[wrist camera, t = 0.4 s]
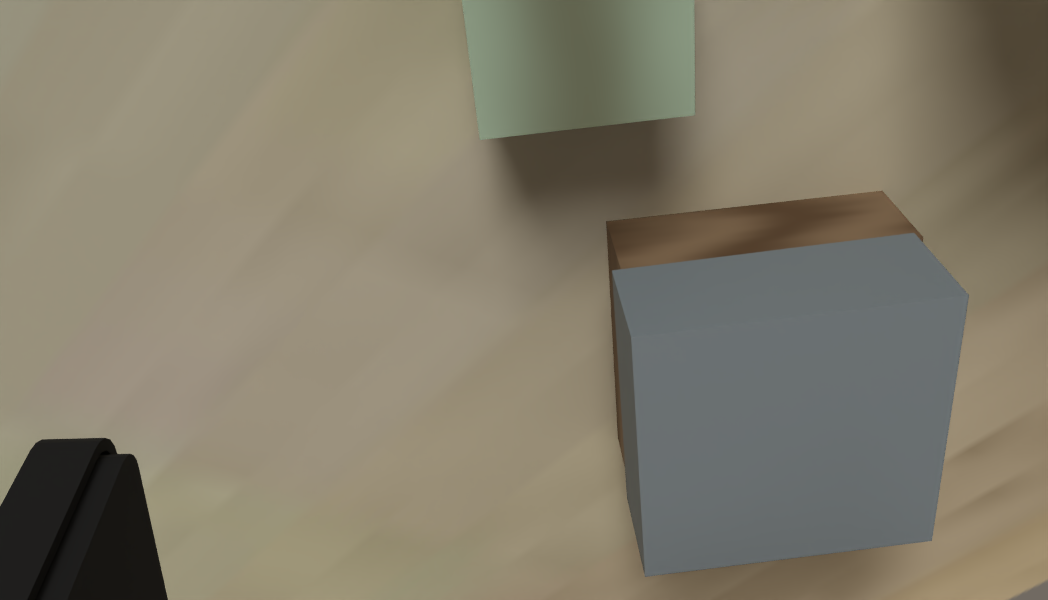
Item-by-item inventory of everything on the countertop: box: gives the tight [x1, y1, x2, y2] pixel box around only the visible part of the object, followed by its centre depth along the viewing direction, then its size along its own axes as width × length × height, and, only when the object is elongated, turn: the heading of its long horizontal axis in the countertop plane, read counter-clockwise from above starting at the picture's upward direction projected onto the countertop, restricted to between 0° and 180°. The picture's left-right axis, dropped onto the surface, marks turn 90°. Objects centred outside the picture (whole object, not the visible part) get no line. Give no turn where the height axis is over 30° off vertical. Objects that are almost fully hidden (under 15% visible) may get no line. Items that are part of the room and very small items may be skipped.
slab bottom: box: [606, 191, 923, 466], centre depth 37 cm, size 10×10×4 cm
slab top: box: [612, 233, 969, 577], centre depth 34 cm, size 10×10×4 cm
